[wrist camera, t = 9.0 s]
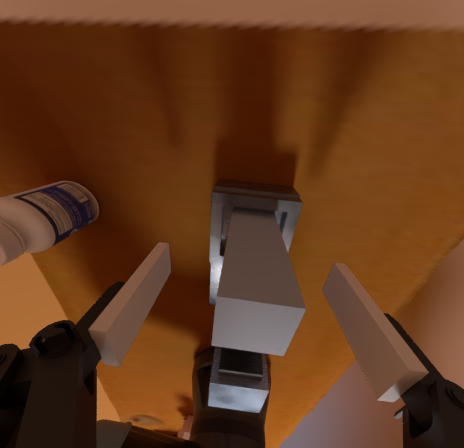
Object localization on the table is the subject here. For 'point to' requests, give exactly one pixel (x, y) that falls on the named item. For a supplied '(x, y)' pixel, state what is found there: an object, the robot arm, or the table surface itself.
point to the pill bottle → (43, 217)
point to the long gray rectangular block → (256, 288)
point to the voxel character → (186, 428)
